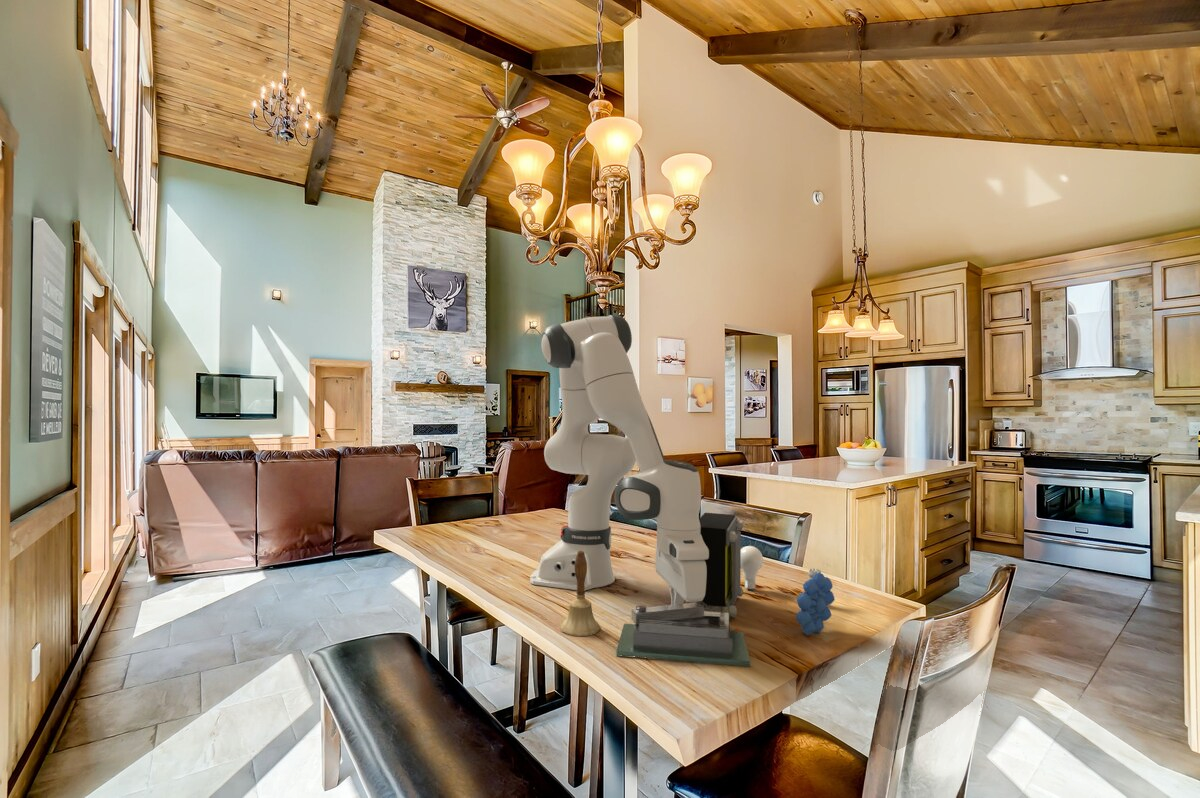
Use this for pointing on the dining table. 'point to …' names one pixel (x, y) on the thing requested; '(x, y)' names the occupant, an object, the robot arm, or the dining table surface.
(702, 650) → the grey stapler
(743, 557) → the lightbulb
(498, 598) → the dining table surface
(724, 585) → the electrical component
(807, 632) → the grapes
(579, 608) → the hand bell
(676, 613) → the grey metal bar
